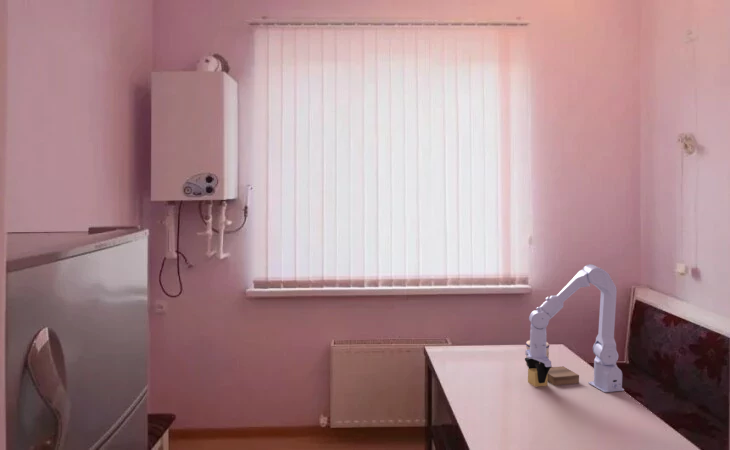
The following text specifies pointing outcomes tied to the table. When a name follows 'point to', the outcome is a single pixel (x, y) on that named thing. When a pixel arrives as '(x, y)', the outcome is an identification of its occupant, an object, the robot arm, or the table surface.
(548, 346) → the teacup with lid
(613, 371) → the robot arm
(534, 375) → the ochre block
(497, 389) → the table surface
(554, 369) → the walnut base
